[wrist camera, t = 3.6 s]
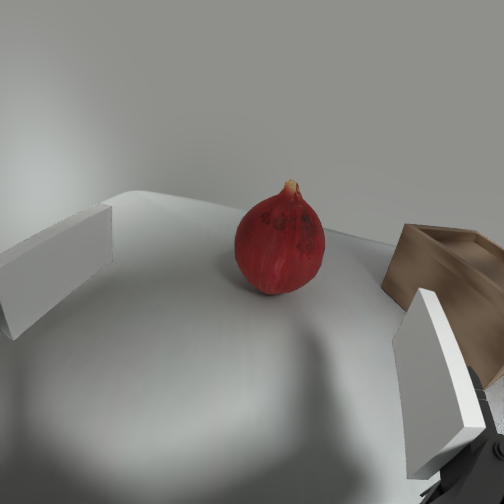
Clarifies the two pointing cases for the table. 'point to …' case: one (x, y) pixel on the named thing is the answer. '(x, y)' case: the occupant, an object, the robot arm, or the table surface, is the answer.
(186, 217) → the table surface
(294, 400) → the table surface
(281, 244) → the onion
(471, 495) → the robot arm
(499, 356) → the walnut tray
